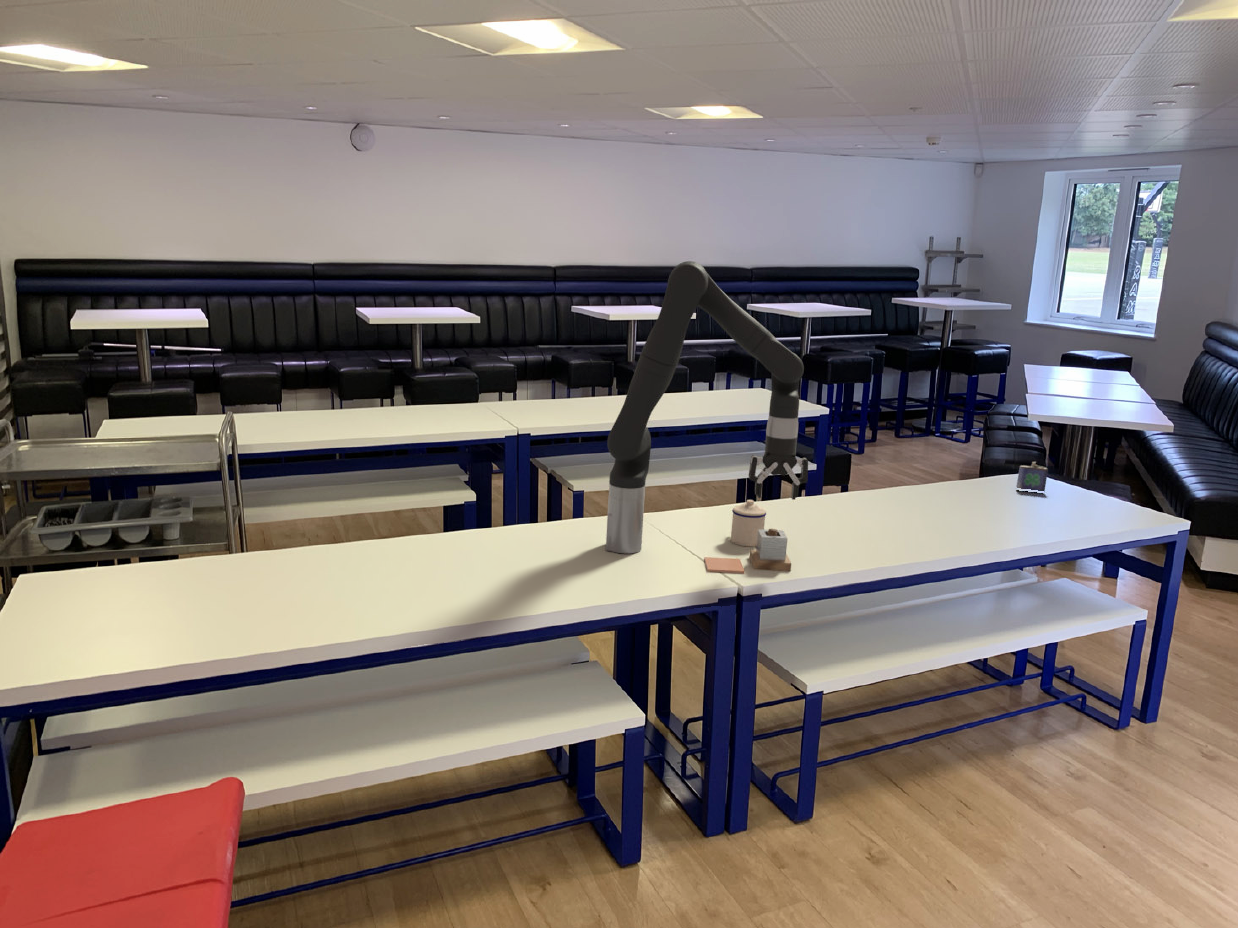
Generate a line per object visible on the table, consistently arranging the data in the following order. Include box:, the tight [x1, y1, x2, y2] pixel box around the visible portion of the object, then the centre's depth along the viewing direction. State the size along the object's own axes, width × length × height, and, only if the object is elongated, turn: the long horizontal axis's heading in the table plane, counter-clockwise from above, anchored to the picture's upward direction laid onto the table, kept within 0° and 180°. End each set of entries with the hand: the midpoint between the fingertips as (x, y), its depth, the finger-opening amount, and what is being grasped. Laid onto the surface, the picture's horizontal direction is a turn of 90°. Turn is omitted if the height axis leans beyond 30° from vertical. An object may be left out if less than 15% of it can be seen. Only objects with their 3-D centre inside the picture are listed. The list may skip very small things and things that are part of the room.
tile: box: [703, 556, 745, 574], centre depth 231 cm, size 9×9×1 cm
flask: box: [1016, 461, 1049, 492], centre depth 321 cm, size 9×3×11 cm, turn 75°
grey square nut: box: [755, 529, 788, 561], centre depth 233 cm, size 6×6×6 cm
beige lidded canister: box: [730, 499, 767, 548], centre depth 251 cm, size 12×9×12 cm
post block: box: [749, 528, 792, 572], centre depth 233 cm, size 9×9×9 cm
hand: (776, 498), depth 230 cm, fingers open, 8 cm apart
